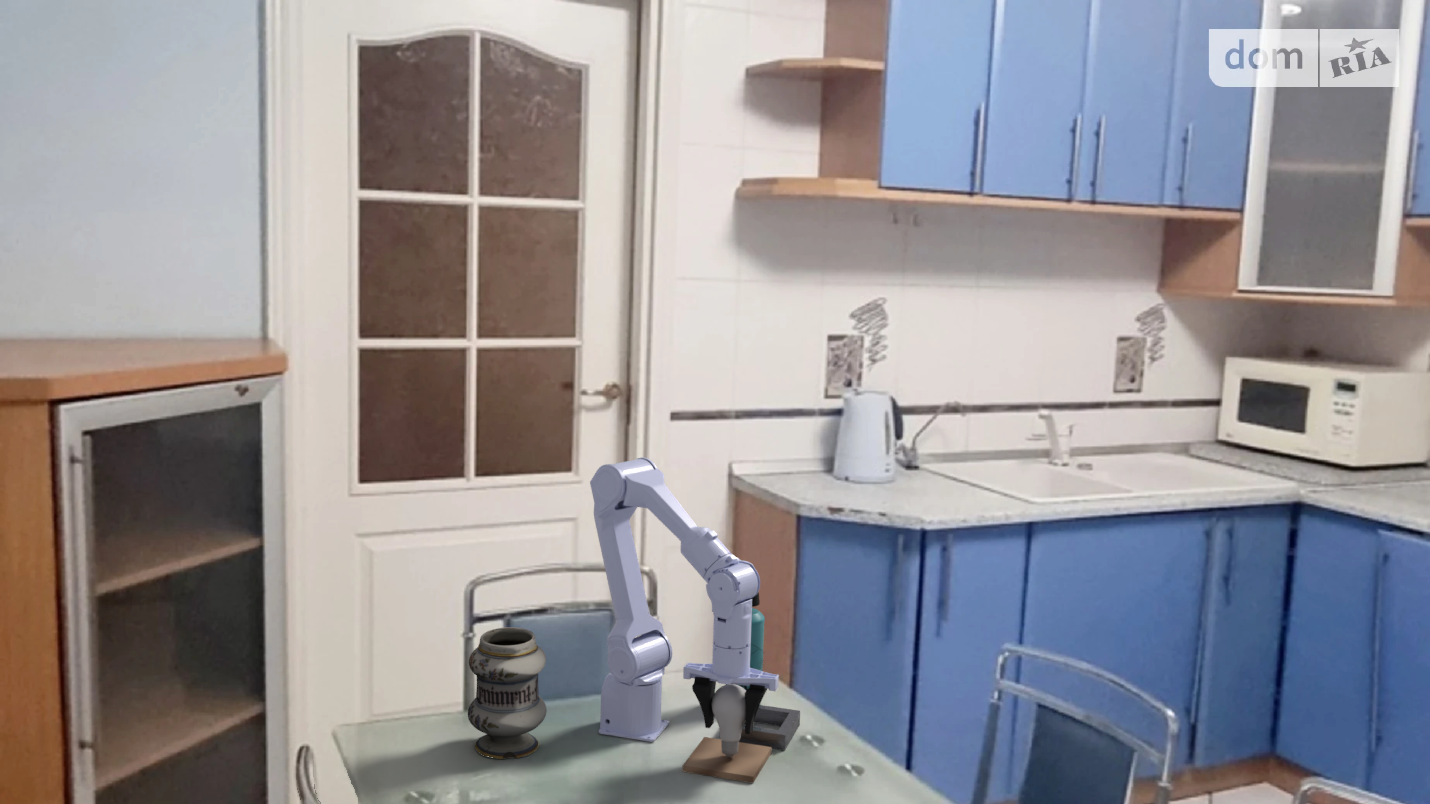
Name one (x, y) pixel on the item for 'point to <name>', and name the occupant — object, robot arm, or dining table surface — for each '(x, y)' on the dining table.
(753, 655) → the beverage bottle
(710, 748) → the walnut pad
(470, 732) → the dining table surface
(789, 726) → the holder frame
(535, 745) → the apothecary jar
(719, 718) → the lightbulb
